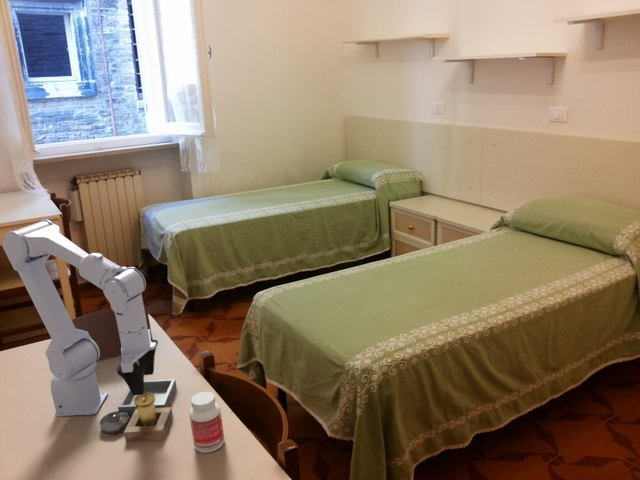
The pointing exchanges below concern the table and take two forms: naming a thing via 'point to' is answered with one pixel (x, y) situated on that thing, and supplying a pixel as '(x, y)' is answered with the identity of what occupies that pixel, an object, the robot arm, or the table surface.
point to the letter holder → (104, 331)
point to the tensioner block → (149, 432)
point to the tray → (159, 388)
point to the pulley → (114, 422)
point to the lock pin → (146, 409)
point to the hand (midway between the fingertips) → (143, 383)
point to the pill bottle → (206, 422)
